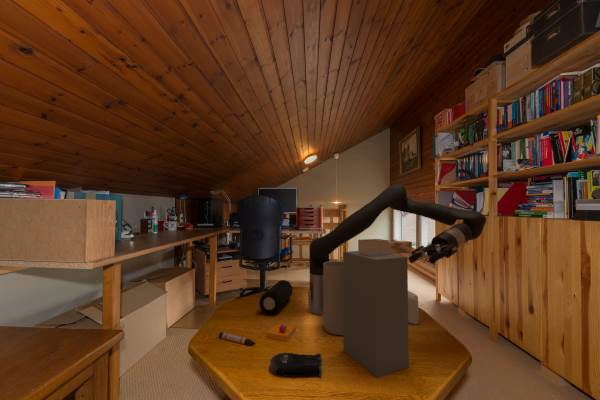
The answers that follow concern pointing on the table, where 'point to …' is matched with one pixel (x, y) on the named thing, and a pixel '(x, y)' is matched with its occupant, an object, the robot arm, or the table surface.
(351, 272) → the tall shelf
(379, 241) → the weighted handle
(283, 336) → the orange wooden platform
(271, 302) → the portable speaker
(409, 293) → the photo printer
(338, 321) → the cylinder vase
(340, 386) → the table surface
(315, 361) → the electronic device
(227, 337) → the marker
